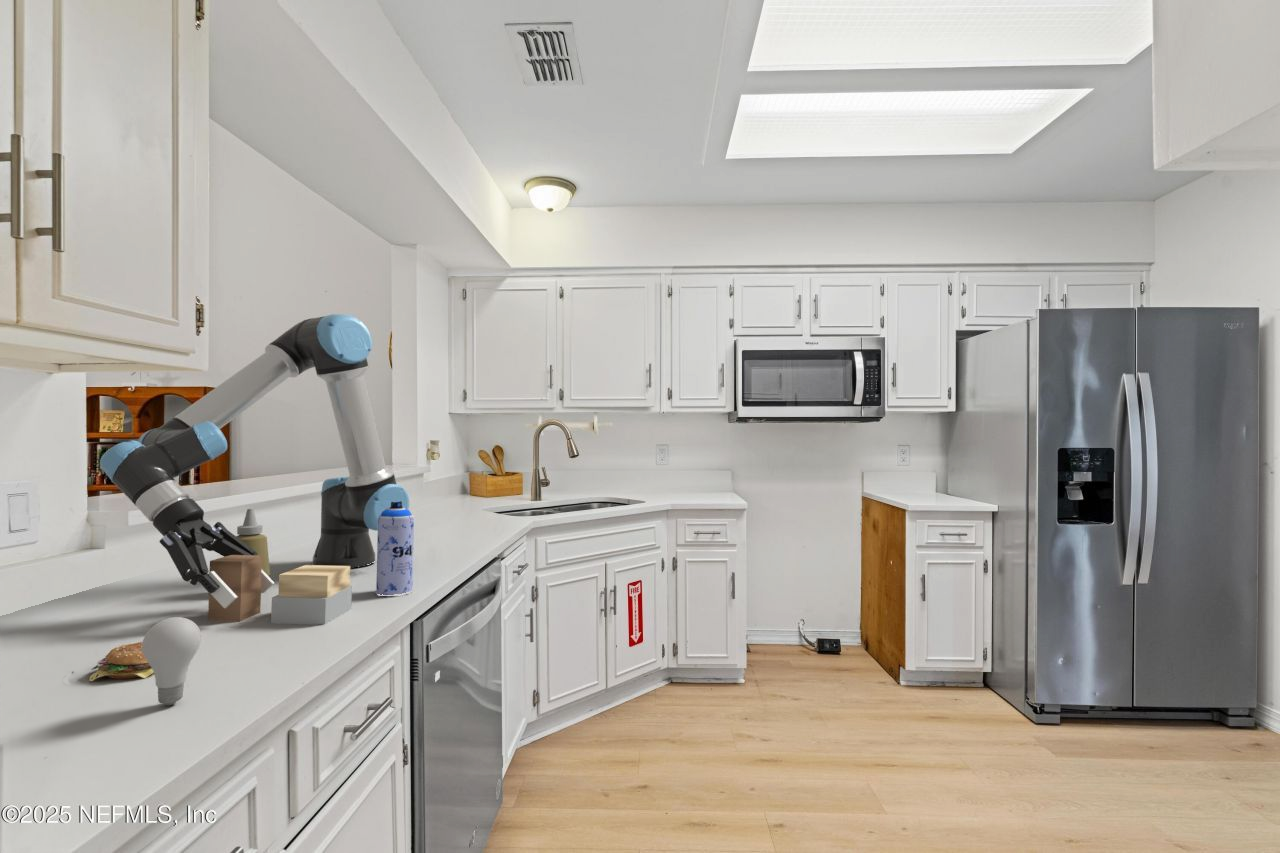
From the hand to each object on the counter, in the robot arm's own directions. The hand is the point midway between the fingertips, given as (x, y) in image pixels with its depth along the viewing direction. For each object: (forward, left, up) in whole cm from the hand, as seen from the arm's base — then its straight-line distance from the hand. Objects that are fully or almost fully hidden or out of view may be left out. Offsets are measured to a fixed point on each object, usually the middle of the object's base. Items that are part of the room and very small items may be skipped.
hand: (250, 595), depth 120 cm
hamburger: (+27, +4, -5) cm, 28 cm away
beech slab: (-4, +11, +1) cm, 12 cm away
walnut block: (+1, -3, -4) cm, 5 cm away
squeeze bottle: (-15, -15, -4) cm, 22 cm away
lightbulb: (+36, +21, -4) cm, 41 cm away
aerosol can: (-23, +15, -4) cm, 28 cm away
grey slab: (-3, +11, -4) cm, 12 cm away
